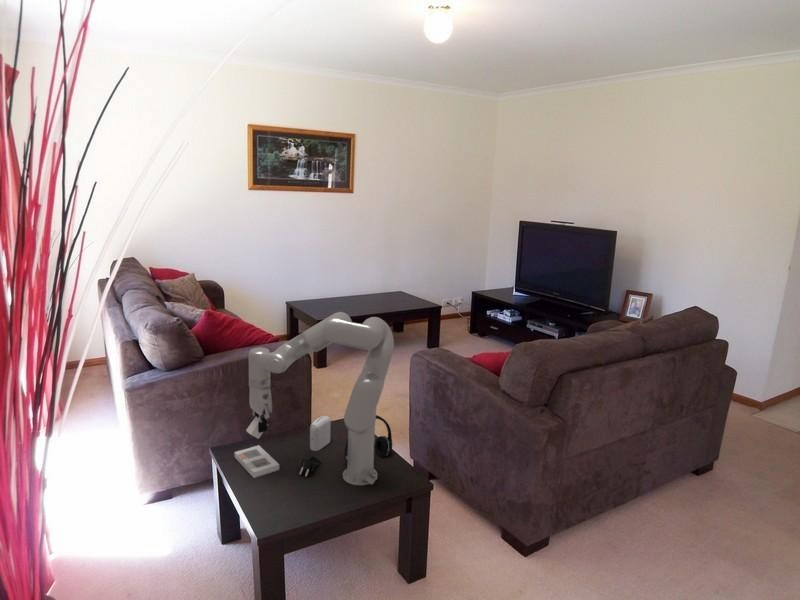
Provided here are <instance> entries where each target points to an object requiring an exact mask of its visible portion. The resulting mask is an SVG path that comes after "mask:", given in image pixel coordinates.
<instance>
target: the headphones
mask: <svg viewBox="0 0 800 600" xmlns="http://www.w3.org/2000/svg"><path fill="white" fill-rule="evenodd" d="M376 420H380V421H381V422H383V424H384V425H385V427H386V430H387V436H386V435H380V436H377V438H376V439H375V441H374V453H375V454H376V456H378V457H380V458H385V456H386V457H388V456H389V454H390V453H392V451H393V438H392V437H393V436H392V431H391V430H392V429H391V427H390V425H389V423H388V421H386V420H385V419H384V418H383V417H381V416H379V415H377V414H376ZM343 450H344V451H343V459H344V462H345V463H346V464H347V461H348V437H347V439H346V442H345V446H344V449H343Z"/></svg>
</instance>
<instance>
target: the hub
mask: <svg viewBox="0 0 800 600" xmlns="http://www.w3.org/2000/svg"><path fill="white" fill-rule="evenodd" d="M234 459H235V460H236V461H237V462H238V463H239V464H240V466H242V468H243V469H244V470H245V471H246V472H247V473H248V474H249V475H250V477H252V478H253V479H257V478H259V477H262V476H266V475H268V474H272V473H274V472H279V471H280V464H279V463H278V462H277V461H276V460H275V459H274V458H273V457H272V456H271V455H270V454H269V453H268V451H266V450H265V449H264V448H262V446H260V445H259V444H257V445H254V446H251V447H248V448H244V449H241V450H237V451H234Z"/></svg>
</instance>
